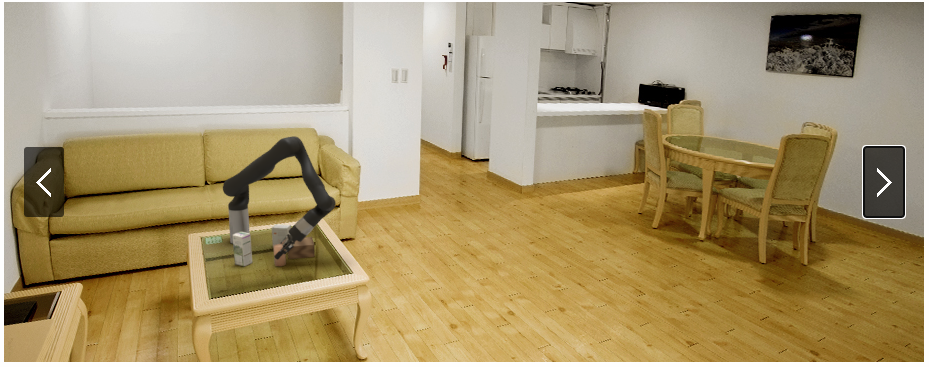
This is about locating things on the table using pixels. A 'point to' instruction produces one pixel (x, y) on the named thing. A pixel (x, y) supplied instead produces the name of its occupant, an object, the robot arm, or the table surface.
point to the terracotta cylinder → (282, 259)
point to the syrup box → (242, 248)
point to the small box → (279, 233)
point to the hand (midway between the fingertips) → (275, 256)
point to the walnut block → (302, 249)
